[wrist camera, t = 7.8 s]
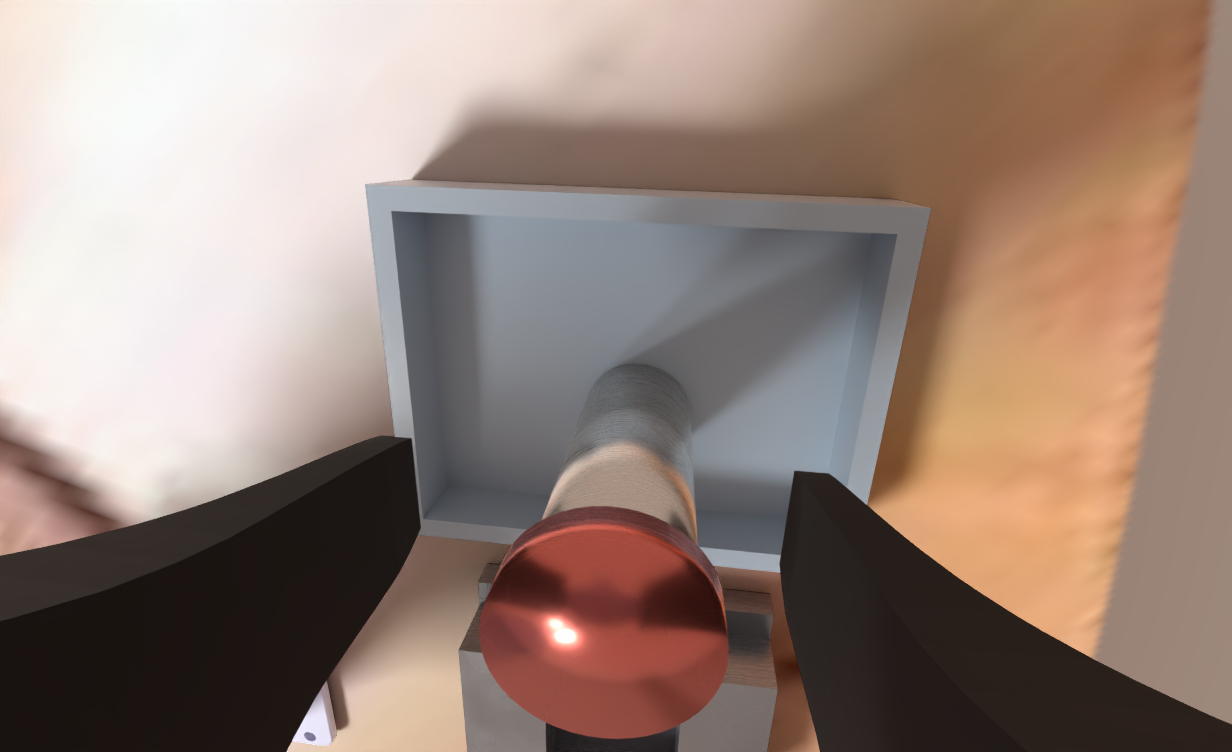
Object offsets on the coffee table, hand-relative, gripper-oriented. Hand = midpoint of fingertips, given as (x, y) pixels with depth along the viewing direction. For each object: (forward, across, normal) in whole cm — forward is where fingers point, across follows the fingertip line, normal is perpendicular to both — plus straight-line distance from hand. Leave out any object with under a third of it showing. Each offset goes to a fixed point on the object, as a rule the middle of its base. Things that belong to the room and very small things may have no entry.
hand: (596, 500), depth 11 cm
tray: (+7, 0, 0) cm, 7 cm away
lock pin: (+7, 0, +1) cm, 7 cm away
